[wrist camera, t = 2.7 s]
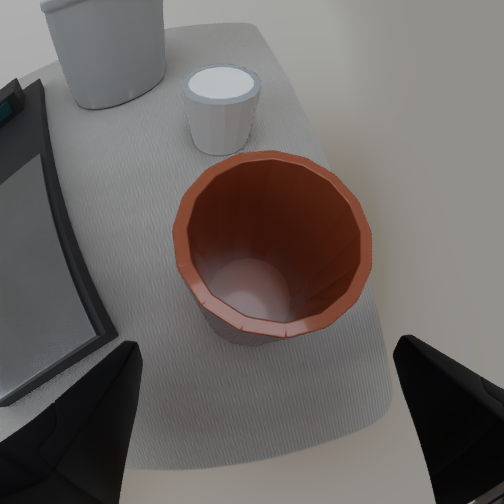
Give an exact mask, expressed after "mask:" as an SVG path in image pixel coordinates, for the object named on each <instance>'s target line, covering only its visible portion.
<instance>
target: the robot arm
mask: <svg viewBox="0 0 504 504" xmlns="http://www.w3.org/2000/svg"><path fill="white" fill-rule="evenodd" d="M393 359H394V362H395V366H396V370H397V373H398V377H399V381H400V384H401V388H402V391H403V394H404V397H405V400H406V402H407V405H408V408H409V411H410V413H411V417H412V419H413V422H414V425H415V428H416V431H417V435H418V437H419V440H420V444H421V447H422V451H423V454H424V457H425V461H426V464H427V468H428V472H429V475H430V480H431V484H432V488H433V492H434V497H435V501H436V504H468V503H470V502H471V501H473V500H475V502H474V503H473V504H504V389H502V388H500V387H498V386H496V385H495V384H493V383H491V382H490V381H488V380H486V379H484V378H483V377H480V375H478V374H476V373H474V372H473V371H471V370H470V369H468V368H466V367H465V366H463V365H461V364H460V363H458V362H456V361H455V360H453V359H451V358H450V357H448V356H446V355H445V354H443V353H441V352H440V351H438V350H436V349H435V348H433V347H431V346H430V345H428V344H426V343H425V342H423V341H421V340H420V339H418V338H416V337H415V336H413V335H404V336H401V338H400V339H399V341H398V343H397V346H396V347H395V350H394V352H393ZM142 367H143V360H142V356H141V352H140V349H139V345H138V343H137V342H135V341H124V342H122V343H121V344H120V345H119V346H118V347H117V348H115V349H114V350H113V351H112V352H111V353H110V354H108V355H107V356H106V357H105V358H104V359H103V360H101V361H100V362H99V363H98V364H97V365H96V366H94V367H93V368H92V369H91V370H90V371H89V372H88V373H86V374H85V375H84V376H83V377H82V378H81V379H79V380H78V381H77V382H76V383H75V384H74V385H73V386H71V387H70V388H69V389H68V390H67V391H66V392H65V393H63V394H62V395H61V396H60V397H59V398H58V399H57V400H55V403H52V404H51V405H50V406H48V407H47V408H46V409H45V410H44V411H43V412H41V413H40V414H39V415H38V416H37V417H35V418H34V419H33V420H31V421H30V422H29V423H27V424H26V425H25V426H23V427H22V428H20V429H19V430H18V431H16V432H15V433H13V434H12V435H10V436H9V437H7V438H6V439H5V440H3V441H2V442H0V504H119V498H120V491H121V484H122V479H123V473H124V468H125V462H126V457H127V452H128V447H129V442H130V437H131V433H132V428H133V424H134V419H135V415H136V411H137V406H138V398H139V390H140V382H141V375H142Z"/></svg>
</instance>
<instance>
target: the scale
mask: <svg viewBox="0 0 504 504" xmlns="http://www.w3.org/2000/svg"><path fill="white" fill-rule="evenodd" d="M118 336H119V335H118V333H117V331H116V330H115V328H114V326H113V324H112V322H111V320H110V318H109V316H108V314H107V312H106V310H105V308H104V306H103V304H102V301H101V299H100V297H99V295H98V293H97V291H96V288H95V286H94V284H93V281H92V279H91V277H90V274H89V272H88V270H87V267H86V265H85V262H84V260H83V257H82V254H81V252H80V249H79V246H78V243H77V241H76V238H75V235H74V232H73V229H72V226H71V223H70V220H69V217H68V213H67V210H66V207H65V203H64V200H63V196H62V192H61V188H60V185H59V181H58V176H57V172H56V168H55V163H54V158H53V153H52V148H51V142H50V136H49V130H48V123H47V115H46V107H45V96H44V87H43V85H42V83H41V81H40V79H38V80H37V81H35V82H34V83H32V84H31V85H29V86H28V87H26V88H25V89H23V90H22V88H21V86H20V84H19V82H18V80H17V78H16V79H14V80H13V81H11V82H10V83H9V84H7V85H6V86H5V87H3V88H2V89H1V90H0V407H6V406H9V405H11V404H12V403H14V402H15V401H17V400H19V399H20V398H22V397H23V396H25V395H26V394H28V393H30V392H31V391H33V390H34V389H36V388H37V387H39V386H41V385H42V384H44V383H45V382H47V381H48V380H50V379H52V378H53V377H55V376H56V375H58V374H59V373H61V372H63V371H64V370H66V369H67V368H69V367H70V366H72V365H74V364H75V363H77V362H78V361H80V360H81V359H83V358H84V357H86V356H88V355H89V354H91V353H92V352H94V351H95V350H97V349H99V348H100V347H102V346H103V345H105V344H107V343H108V342H110V341H111V340H113V339H114V338H116V337H118Z"/></svg>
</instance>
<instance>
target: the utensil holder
mask: <svg viewBox="0 0 504 504" xmlns="http://www.w3.org/2000/svg"><path fill="white" fill-rule="evenodd" d="M40 5H41V10H42V11H43V12H44V13H45V16H46V20H47V24H48V28H49V31H50V35H51V38H52V41H53V44H54V47H55V49H56V52H57V55H58V58H59V61H60V64H61V67H62V70H63V72H64V75H65V77H66V80H67V82H68V84H69V87H70V89H71V91H72V93H73V95H74V98H75V100H76V101H77V103H78V104H79V105H80V106H81V107H83V108H87V109H103V108H108V107H112V106H116V105H119V104H122V103H125V102H127V101H130V100H132V99H134V98H137V97H139V96H140V95H142V94H144V93H146V92H147V91H149V90H150V89H152V88H153V87H154V86H156V85H157V84H158V83H159V82H160V81H161V79H162V78H163V76H164V74H165V72H166V62H165V41H164V22H163V0H43V1H41V3H40Z"/></svg>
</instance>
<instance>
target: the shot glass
mask: <svg viewBox="0 0 504 504" xmlns="http://www.w3.org/2000/svg"><path fill="white" fill-rule="evenodd" d="M180 87H181V92H182V96H183V100H184V105H185V109H186V113H187V118H188V122H189V126H190V130H191V134H192V139H193V141H194V144H195V146H196V147H197V148H198V149H199V150H201V151H202V152H204V153H207V154H210V155H219V156H224V155H228V154H232V153H235V152H237V151H238V150H240V149H241V148H243V146H244V145H245V143H246V142H247V140H248V136H249V132H250V128H251V124H252V121H253V117H254V113H255V109H256V106H257V102H258V98H259V95H260V91H261V80H260V78H259V77H258V76H257V75H256V73H254V72H252V71H250V70H249V69H247V68H245V67H241V66H237V65H232V64H214V65H208V66H203V67H200V68H198V69H195V70H193V71H191V72H190V73H189V74H187V75H186V76H185V77H184V78H183V80H182V83H181V85H180Z"/></svg>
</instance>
